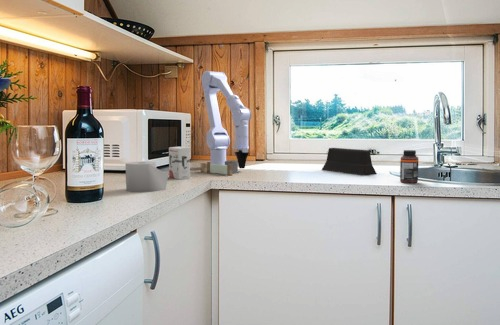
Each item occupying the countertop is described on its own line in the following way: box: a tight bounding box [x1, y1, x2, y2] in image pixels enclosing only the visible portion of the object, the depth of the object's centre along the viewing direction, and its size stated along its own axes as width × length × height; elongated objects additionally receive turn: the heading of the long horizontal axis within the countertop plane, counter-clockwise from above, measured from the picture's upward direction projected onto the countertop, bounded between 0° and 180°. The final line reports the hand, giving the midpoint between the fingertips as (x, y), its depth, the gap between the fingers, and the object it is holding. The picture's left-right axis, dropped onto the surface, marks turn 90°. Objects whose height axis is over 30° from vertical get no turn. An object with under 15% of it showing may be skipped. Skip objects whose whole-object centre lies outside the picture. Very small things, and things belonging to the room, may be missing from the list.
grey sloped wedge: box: [125, 161, 169, 193], centre depth 136 cm, size 9×13×9 cm
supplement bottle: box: [399, 149, 419, 184], centre depth 150 cm, size 6×6×11 cm
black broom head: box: [321, 147, 377, 176], centre depth 181 cm, size 24×9×10 cm, turn 34°
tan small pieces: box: [199, 161, 233, 177], centre depth 176 cm, size 18×1×4 cm, turn 46°
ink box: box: [168, 146, 191, 180], centre depth 163 cm, size 9×5×12 cm, turn 37°
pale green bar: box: [210, 164, 227, 175], centre depth 175 cm, size 10×2×4 cm, turn 46°
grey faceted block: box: [225, 160, 239, 175], centre depth 178 cm, size 4×6×5 cm, turn 136°
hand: (241, 168), depth 183 cm, fingers closed
